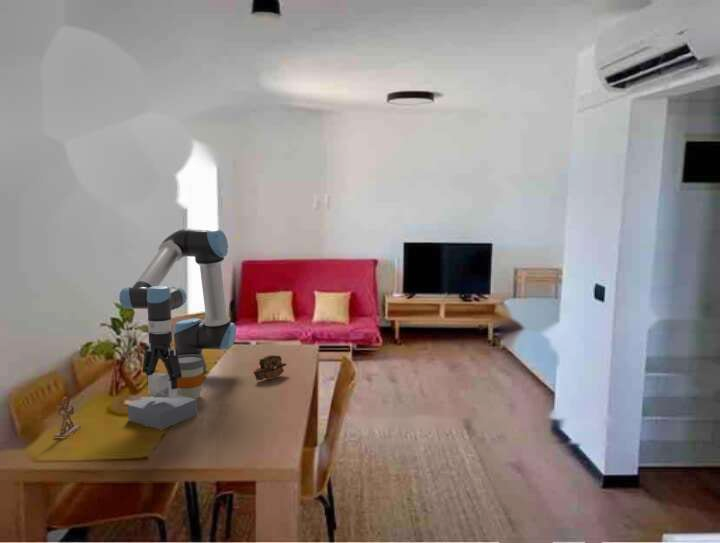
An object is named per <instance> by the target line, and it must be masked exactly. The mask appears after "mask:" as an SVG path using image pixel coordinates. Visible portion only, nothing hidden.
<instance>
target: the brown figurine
mask: <svg viewBox="0 0 720 543" xmlns="http://www.w3.org/2000/svg"><path fill="white" fill-rule="evenodd" d="M60 403H61V405H59V406H58V407H57V409H56V410H57V414H58V416H60V417H62V422H61V426H60V427H61V428H60V431H59V432H57V433H56V434H54V435H53V438H54V437H66V436H68V435H69V434H71V433H72V432H74V431H76V430H77V429H78V428H80V429H81V425H77V424H76V425H75V424H74V422H73V420H72V419H71V416H72V415H74V413H75V408H74V407H73V405H70V398H69V397H68V396H64V397H63V398H62V399H61V402H60ZM69 408H70V410H69ZM62 411H63V412H64V413H61V412H62ZM67 420H69V422H68V421H67ZM77 431H78V430H77ZM77 431H76V432H77Z"/></svg>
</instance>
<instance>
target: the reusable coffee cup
mask: <svg viewBox="0 0 720 543" xmlns="http://www.w3.org/2000/svg"><path fill="white" fill-rule="evenodd" d="M203 357H204V355H203V356H200V355H181V356H178V360H179V365H180V370H181V375H182V377H181V378H178V379H177V388H176V390H177V395H181V396H185V397H189V398H194V399H199V398H201V393H202V386H203V383H204V377H205V376H204V374H205V372H204V371H203V366H204V360H205V357H204V358H203Z"/></svg>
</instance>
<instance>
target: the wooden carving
mask: <svg viewBox="0 0 720 543" xmlns="http://www.w3.org/2000/svg"><path fill="white" fill-rule="evenodd" d="M258 364H259V366H260V367H257V368H256V369H255V370H253V375H254V376H255V379H256V381H263V380H266V379H267V380H273V379H276V378H279V377H280V376H281V375H282V374H283V373H284V372H285V369H284V367H286V366H287V363H283V362H282V357H281V355H272V354H270V355H269V354H267V355H265V356H264V357H263V358H260V359H259V363H258Z"/></svg>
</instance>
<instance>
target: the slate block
mask: <svg viewBox="0 0 720 543" xmlns="http://www.w3.org/2000/svg"><path fill="white" fill-rule="evenodd" d="M197 399H198V398H197ZM197 399H194V398H189V397H185V396H181V395H177V397H175V398H172V399H169V397H153V395H152V396H149V397H146V398H144V399H140V400H137V401H135V402H132V403H130V404H127V414H128V417H127V418H128V421H129V420H130V421H129V422H131V421H133V422H132V423H135V422H137V423H136V424H138V423H139V425H142V424H143V425H142V426H145V425H147V426H146V427H149V426H150V427H149V428H152V427H154V428H153V429H156V428H158V429H157V430H159V429H162V430H164V429H166V428H165V427H167V428H169V427H172V426H174V425H176V424H178V423H179V424H180V422H183V421H186V420H187V419H190V418H193V417H195V416H197V415H198V400H197ZM171 425H172V426H171ZM168 426H169V427H168ZM163 428H164V429H163Z"/></svg>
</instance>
